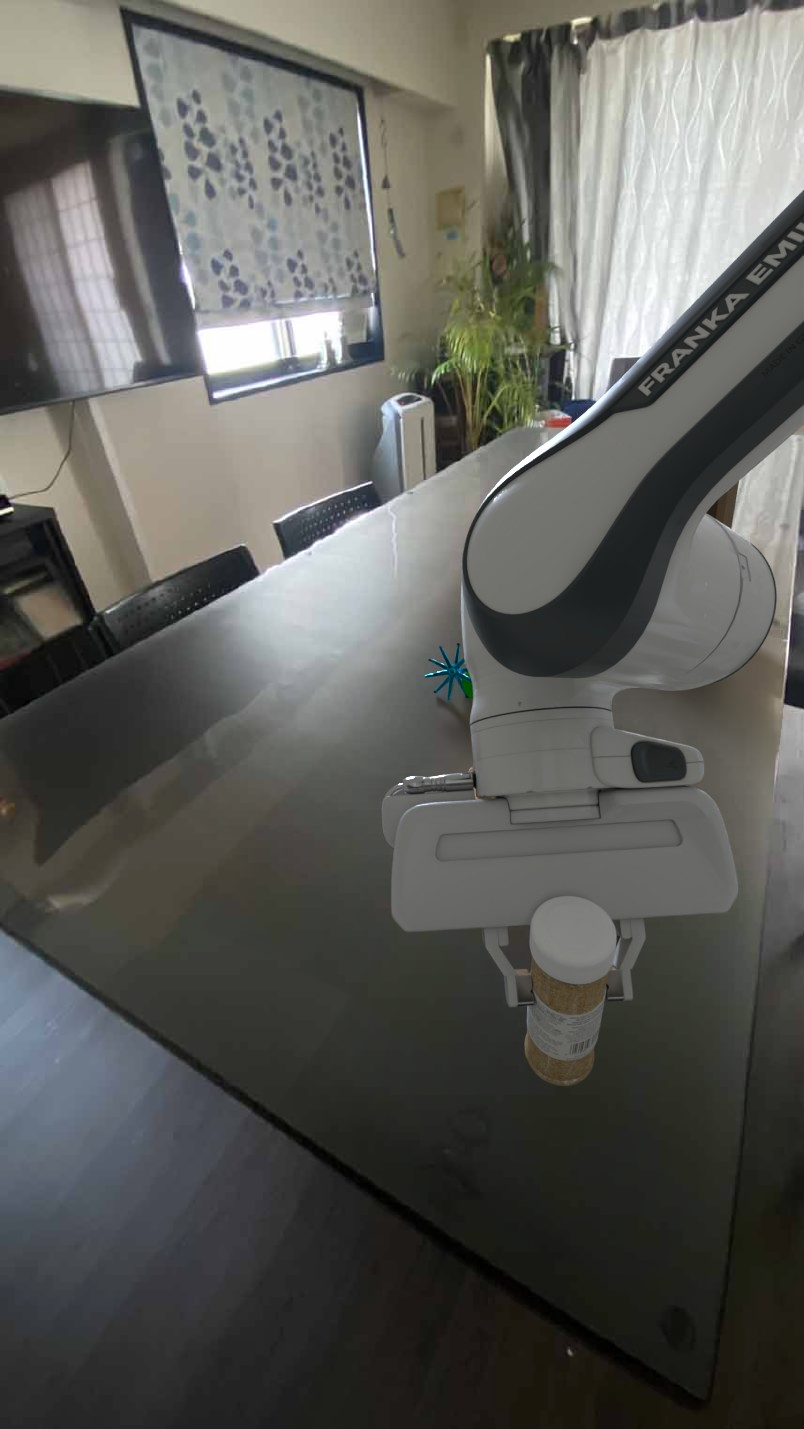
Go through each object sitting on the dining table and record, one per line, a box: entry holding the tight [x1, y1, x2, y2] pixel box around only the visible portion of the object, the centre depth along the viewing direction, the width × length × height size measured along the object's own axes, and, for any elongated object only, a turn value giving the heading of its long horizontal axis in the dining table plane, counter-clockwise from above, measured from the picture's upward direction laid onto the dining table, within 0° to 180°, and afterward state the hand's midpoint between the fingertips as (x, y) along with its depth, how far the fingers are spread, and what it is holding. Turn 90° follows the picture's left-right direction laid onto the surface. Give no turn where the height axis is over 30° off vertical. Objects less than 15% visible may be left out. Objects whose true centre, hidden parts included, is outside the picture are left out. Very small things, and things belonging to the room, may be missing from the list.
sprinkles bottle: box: [524, 896, 618, 1087], centre depth 38 cm, size 5×5×13 cm
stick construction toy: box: [423, 642, 473, 702], centre depth 90 cm, size 12×7×8 cm
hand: (569, 1001), depth 38 cm, fingers closed on sprinkles bottle, 4 cm apart
